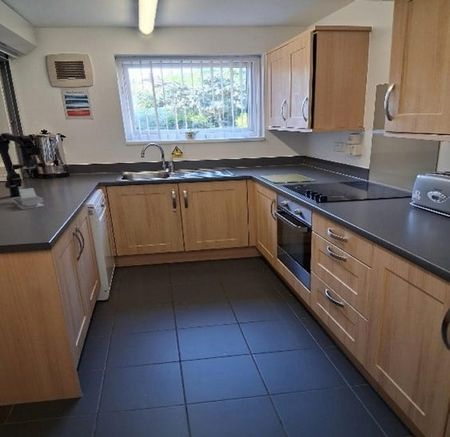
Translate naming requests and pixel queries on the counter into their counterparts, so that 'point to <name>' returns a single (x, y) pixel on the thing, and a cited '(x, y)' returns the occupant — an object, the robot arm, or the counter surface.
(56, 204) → the counter surface
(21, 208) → the pad
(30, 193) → the skincare box
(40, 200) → the light grey flat frame
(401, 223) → the counter surface
